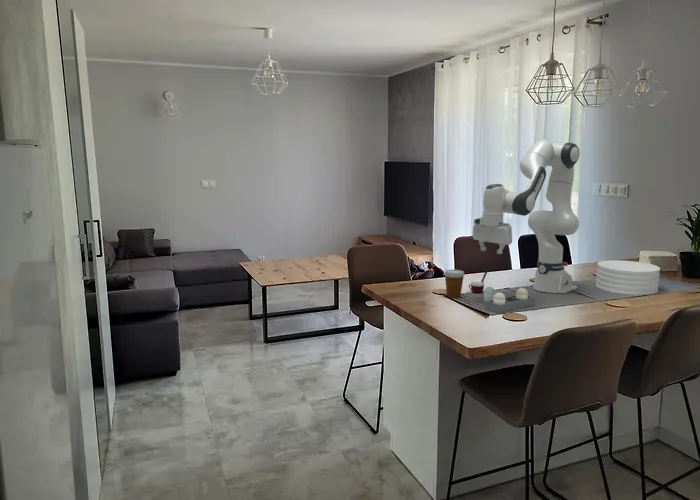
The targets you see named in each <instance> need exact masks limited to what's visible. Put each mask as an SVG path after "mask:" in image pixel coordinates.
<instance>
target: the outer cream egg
mask: <svg viewBox="0 0 700 500" xmlns="http://www.w3.org/2000/svg"><path fill="white" fill-rule="evenodd" d="M505 297H506V295H505V294H504V293H502V292H495V295H494V297H493V303H496V304H499V305H501V304H505Z"/></svg>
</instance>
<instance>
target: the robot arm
mask: <svg viewBox="0 0 700 500" xmlns="http://www.w3.org/2000/svg"><path fill="white" fill-rule="evenodd" d="M579 158H580V148H579V147H578V145H577V144H576V143H573V142H557V141H556V142H551V141H549V140H547V139H540V140H537V141H536V142H535V143H534V144H532V146H530V147H529V149H528V150H527V151H526V153H525V154H524V155H523V157H522V158H521V160H520V163H519V169H520V173H522V175H524V177H526V178H527V179H529V182H528V184H527V186H526V188H525V190H523V191H509V190H507V189H506V188H505V187H504V185H503V184H501V183H493V184H489V185H487V186H486V187H485V189H484V192H483V200H482V206H483V212H482V216H480V217H478V218H474V219H473V227H472V238H473V240H475V241H478V243H479V246H480V251H481V252H485V251H487V246H486V245H485V242H487V243H491V244H492V243H493V244H497V245H498V246H499V248H498V249H497V250H496V254H497V255H502V254H503V250H504V248H505V247H506V246H508V245H511V244H512V243H513V232H512V228H513V227H512V226H511V224H510V223H509V222H504V214H505V213H506V214H513V215H519V216H528V215H529V216H528V219H527V224H528V225H527V226H528V227H529V229H531V231H533V233H534V234H535V238H536V239H537V242H538V260H537V264H536V265H537V266H536V268H537V270H536V271H535V275H534V281H533V283H532V284H531V286H532V287H533V290H535V291H538V292H543V293H549V294H551V293H553V294H558V293H559V294H567V293H569V292H572V291H574V290H577V289H578V286H577V285H575V284H573V277H572V275H571V274H569V272H568V271H566V269H565V267H568V264H569V263H568V262H567V261H563V256H564V255H563V254H564V246H563V245H562V243H560V242H559V241H558V240H557V238H556V236H571V235H575V233H576V232H577V231H578V229H579V227H580V220H579V218H578V217H577V215H576V214H575V213H574V212H573V210H572V207H571V197H572V196H571V195H572V189H573V185H574V184H573V183H574V177H575V167H574V166H575V165H576V164H577V163H578V161H579ZM547 167H551V168H552V169H551V171H550V175H549V179H548V184H547V188H546V193H545V198H546V200H547V201H548V202H549V203H550V204H551V205H552V210H543V209H542V210H534V207H535V206H536V200H537V198H538V195H539V194H540V192H541V189H542V187H543V185H544V183H545V180H546V178H547V171H546V168H547ZM533 210H534V211H533Z"/></svg>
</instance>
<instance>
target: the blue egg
mask: <svg viewBox="0 0 700 500" xmlns="http://www.w3.org/2000/svg"><path fill="white" fill-rule="evenodd" d="M495 294H496V290H495V289H494V288H493V286H488V287H486V288H485V289H483V302H485V303H486V301H489V300H493V297H494V295H495Z"/></svg>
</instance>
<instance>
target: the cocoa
mask: <svg viewBox="0 0 700 500" xmlns="http://www.w3.org/2000/svg"><path fill="white" fill-rule="evenodd" d="M488 271H489V268H486V270H485V272H484V274H483V277H482V279H481V280H480V279H478V278H477V279H474V280H471V282H470V283H471V284H470V283H469V284H468V288H469V289H470V290H471V292H473V293H475V294H481V293H483V292H484V290H485V289H484V288H485V283H484V281H485V279H486V275H487V273H488Z"/></svg>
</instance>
